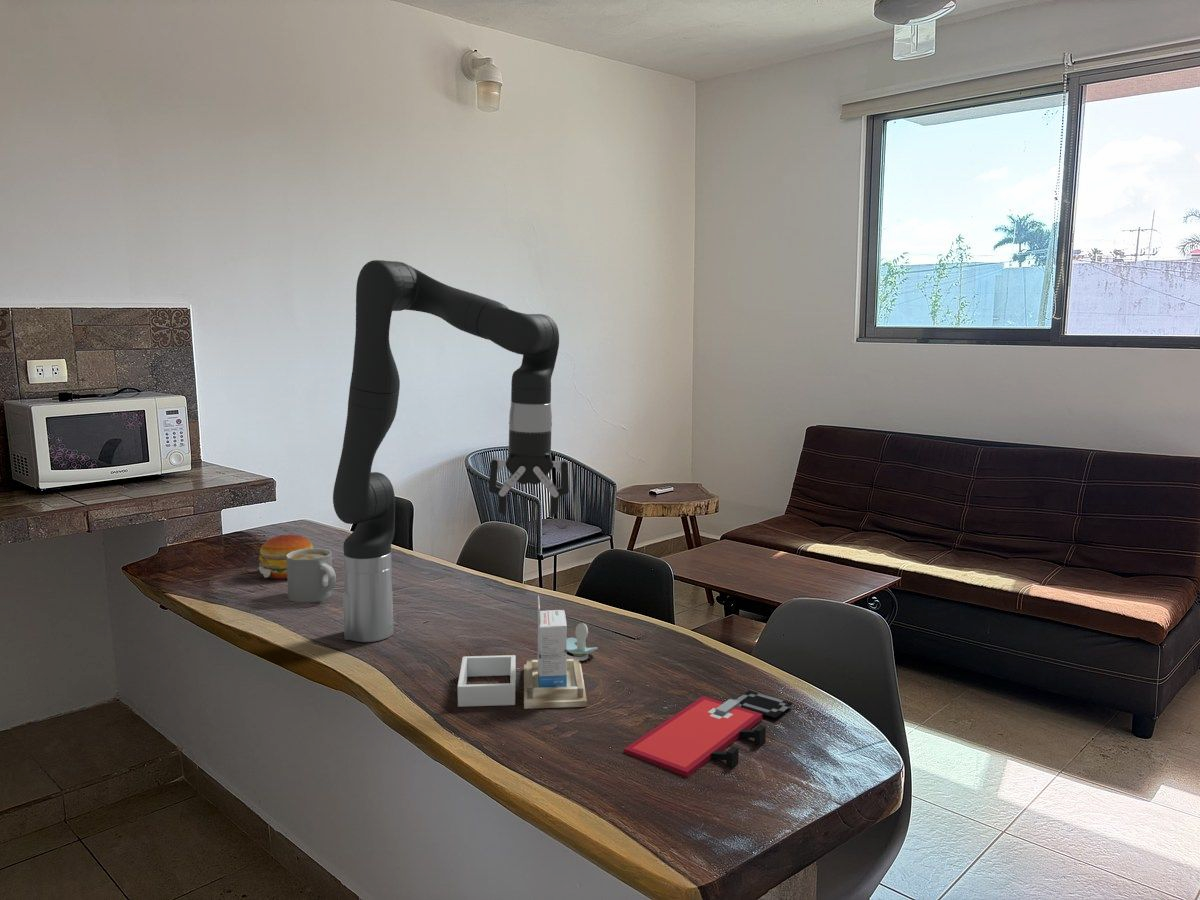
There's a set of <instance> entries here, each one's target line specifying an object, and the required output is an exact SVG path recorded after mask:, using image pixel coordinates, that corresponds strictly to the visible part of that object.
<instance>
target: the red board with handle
mask: <svg viewBox="0 0 1200 900" xmlns="http://www.w3.org/2000/svg"><path fill="white" fill-rule="evenodd" d="M792 705H794V702H791V701H787V700H784V699H780V698H777V697H772V696H769V695H767V694H762V693H759V692H756V691H752V690H748V691H746V692H745V693H743V694H742V695H741V696H739V697H738V698H736V699H733V698H729V699H727V700H726V701H720V700H719V699H718V700H716V699H715V698H710V697H707V696H704V695H703V696H701V697H700V698H697V699H696V700H695V701H693V702H692V703H690V704H688V705H687V706H686V707H685V708H684V707H683V709H681V710H680V711H678V712H677V713H676V714H674V715H672V716H670V717H669V718H668V719H666V720H665V721H663V722H662V723H660V724H659V725H658V726H656V727H654V728H653V729H652V730H650V731H647V733H645V734H644V735H642V736H641V737H639V738H637V739H636V740H635V741H633V742H632V743H630V744H629V745H627V746H626V747H624V748H623V753H625V754H628V755H630V756H632V757H634V758H638V759H640V760H643V761H645V762H648V763H650V764H653V765H655V766H658V767H660V768H662V769H665V770H668V771H670V772H673V773H676V774H678V775H680V776H683V777H686V778H688V777H690V776H691V775H692V774H694V773H695V772H696V771H698V770H699V769H700V768H702V767H703V766H704V765H705V764H707V763H708V762H709V761H711V760H715V761H726V764H725V766H726V767H727V768H729V769H734V768H735V767H736V766H738V765H739V754H740V753H739V749H740V748H739V747H735V746H732V747H730V745H732V744H733V743H735V742H736V741H737V740H738V739H740V738H741V739H743V738H745V739H753V740H754V742H753V744H754V746H758V747H762V745H763V744H764V743H766V739H767V738H766V736H767V735H766V731H767V727H766V726H765V725H761V724H759V723H760V722H761V721H762V720H763V715H765V716H768V717H772V718H774V719H776V718H777V717H779V716H780V715H781V714H782V713H784V712H785V711H786V710H787V709H788V708H790V707H791V706H792ZM757 724H759V725H758V726H756V725H757ZM755 726H756V728H754V727H755ZM752 728H754V729H752ZM728 747H730V748H729V749H728V750H726V751H724V750H725V749H726V748H728Z"/></svg>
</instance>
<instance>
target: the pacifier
mask: <svg viewBox="0 0 1200 900" xmlns="http://www.w3.org/2000/svg"><path fill="white" fill-rule="evenodd" d="M574 632H575V633H574V634H575V637H567V653H571V654H572V655H573V656H572V655H569V654H567V659H579V662H582V661H586V660H588V658H589V654H590V653H592V652H594V651H596V650H598V647H597V646H595V647H587V645H586V638H587V637H588V634H589V629H588V626H587V624H585V623H584V622H582V623H578V624H577V626H576V627H575V631H574ZM576 656H577V657H576Z"/></svg>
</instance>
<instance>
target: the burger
mask: <svg viewBox="0 0 1200 900" xmlns="http://www.w3.org/2000/svg"><path fill="white" fill-rule="evenodd" d="M310 548H314V546H313V543H312V542H311V541H310V540H309V539H308V538H307V537H305V536H302V535H298V534H293V533H292V534H290V533H289V534H281V535H276V536H273V537H271V538H269V539H267V540H266V541H265V542H264V543H263V544H262V545H261V547H260V549H259V553H258V555H259V556H258V558H259V559H258V560H259V564H258V565H259V566H258V570H259V573H260V575H262V576H263V578H271V579H287V563H286V555H287V554H288V553H290V552H293V551H296V550H301V549H310Z"/></svg>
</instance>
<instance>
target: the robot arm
mask: <svg viewBox="0 0 1200 900" xmlns="http://www.w3.org/2000/svg"><path fill="white" fill-rule="evenodd" d="M355 289H356V291H355V296H356V297H355V335H354V336H355V337H354V346H353V347H354V348H353V360H352V361H353V362H352V368H351V369H352V371H351V378H350V382H349V383H350V385H349V391H348V402H347V414H346V420H345V422H346V423H345V427H344V430H345V431H344V434H343V435H344V436H343V443H342V449H341V454H340V459H339V463H338V468H337V473H336V476H335V482H334V484H333V492H332V504H333V510H334V512H335V514H336V516H337V518H338V519H339V520H340V521H342V522H343V523H344V524H347V525H348V524H349V525H355V524H357V525H356V527H355V529H354V530H353V531H352V532H351V534H350V535H348V536H347V537H346V538H345V539H344V541H343V547H342V548H343V564H344V567H343V568H344V592H343V593H342V605H343V606H342V608H343V632H344V633H343V634H344V640H345V641H353V642H356V643H357V642H358V643H373V642H378V641H383V640H385V639H388V638H390V637H391V636H392V635H393V634H394V607H393V604H394V603H393V602H394V601H393V578H392V577H393V574H392V571H393V570H392V543H393V541H394V537H395V534H396V533H395V531H396V529H395V528H396V527H395V525H396V495H395V490H394V487H393V484H392V482H391V480H390V479H389V478H388V476H386V475H385V474H383V473H382V472H378V471H377V472H374V471H373V472H372V466H373V462H374V460H375V456H376V454H377V451H378V449H379V447H380V445H381V444H382V443H383V441H384V439H385V437H386V435H387V433H388V432H389V430H390V428H391V427H392V425H393V422H394V421H395V418H396V415H397V410H398V403H399V396H400V387H401V385H400V384H401V383H400V382H401V381H400V375H399V370H398V368H397V363H396V361H395V358H394V355H393V353H392V349H391V344H390V326H391V319H392V314H393V312H400V311H413V312H420V313H426V314H430V315H433V316H435V317H438V318H440V319H442V320H443V321H445V322H446V323H447V324H449V325H451V326H452V327H454V328H455V329H458V330H460V331H461V332H464V333H467V334H470V335H471V336H472V335H473V336H476V337H478V338H482V339H484V340H487V341H490V342H492V343H493V344H496V345H497V346H499V347H501V348H502V349H504V350H507V351H509V352H512V353H515V354H516V355H522V359H521V365H520V366H519V368H517V369H516V370H514V371H513V373H512V375H511V393H510V397H511V398H510V408H509V420H508V457H507V458H506V459H499V458H497V457H493V458H492V459H491V461H490V470H489V483H488V491H489V493H492V494H496V495H497V496H498V512H499V514H501V515H502V518H503V517H507V514H508V513H507V509H508V507H507V506H508V502H507V501H508V492H509V491H510V490H511V489H512V488H513V487H514V485H515V484H516V483H519V484H520V485H527V484H530V485H538V484H541V483H542V485H543V486H544V488H545V489H546V490H548V492H549V493H550V498H549V518H551V519H552V518H555V517H554V516H555V515H558V513H559V497H560V496H563V495H568V494H569V492H570V491H569V489H570V487H569V486H570V485H569V484H570V483H569V464H568V460H567V459H562V460H553V459H552V456H551V455H552V427H553V422H552V418H553V414H552V404H551V401H552V377H553V374H554V369H555V366H556V363H557V357H558V353H559V348H560V333H559V328H558V325H557V323H556V322H555V321H554V319H553V317H551V316H549V315H546V314H543V313H531V314H529V313H524V312H520V311H519V312H518V311H516V310H513V309H509V307H508V306H506V305H505V304H504V303H502V302H499V301H497V300H494V299H491V298H488V297H485V296H482V295H479V294H476V293H473V292H469V291H466V290H463V289H459V288H456V287H452V286H450V285H447V284H445V283H444V282H441V281H439V280H437V279H436V278H435V279H434V278H433V277H430V276H429V275H427V274H426V273H424V272H422V271H420V270H419V269H416V268H415V267H413V266H411V265H409V264H408V263H406V262H401V261H392V260H379V259H375V260H370V261H368V262H366V263H365V264H364V265H363V266H362V267H361V269H360V271H359V273H358V277H357V280H356V288H355ZM503 467H505V468H506V469H507V471H508V472H509V473H510V475H509V477H508V478H507V479H506V480H505V482H503V484H502V485H501V486H499V485H497V483H498V482H497V481H498V472H501V471H502V470H503ZM553 468H555V469H556V471H557V473H559V474H560V477H561V478H560V479H561V480H560V481H561V482H560V483H561V486H559V487H557V486H556V485H555V484H554V482H553V481H552V480H551V478H550V476H548V474H549V473H550V472H551V471H552V469H553Z"/></svg>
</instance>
